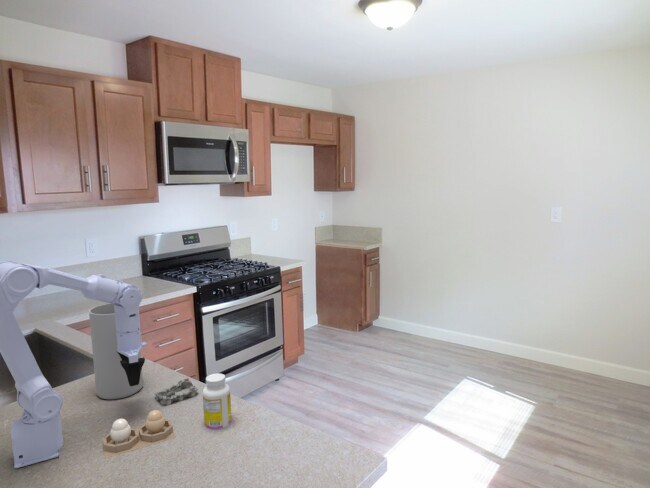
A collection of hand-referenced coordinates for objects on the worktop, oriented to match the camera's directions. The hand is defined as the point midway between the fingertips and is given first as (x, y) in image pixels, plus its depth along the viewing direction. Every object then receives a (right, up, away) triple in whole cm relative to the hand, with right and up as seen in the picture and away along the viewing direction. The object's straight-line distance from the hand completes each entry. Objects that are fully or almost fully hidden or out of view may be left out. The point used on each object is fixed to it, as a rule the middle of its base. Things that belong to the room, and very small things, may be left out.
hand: (132, 379), depth 115 cm
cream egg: (+3, -10, -14) cm, 17 cm away
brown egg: (+10, -10, -10) cm, 17 cm away
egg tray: (+7, -11, -12) cm, 17 cm away
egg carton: (+9, -9, +9) cm, 15 cm away
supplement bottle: (+24, -10, -5) cm, 26 cm away
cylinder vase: (-10, -8, +14) cm, 19 cm away
